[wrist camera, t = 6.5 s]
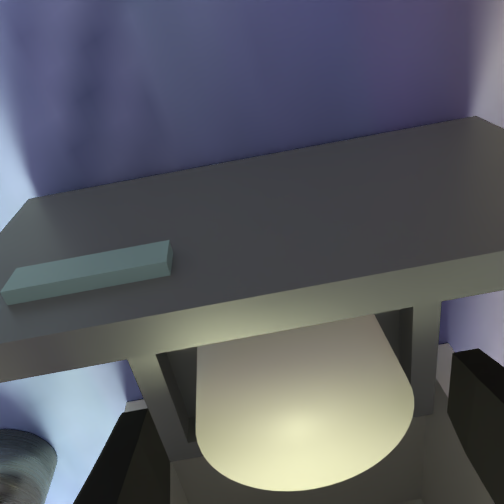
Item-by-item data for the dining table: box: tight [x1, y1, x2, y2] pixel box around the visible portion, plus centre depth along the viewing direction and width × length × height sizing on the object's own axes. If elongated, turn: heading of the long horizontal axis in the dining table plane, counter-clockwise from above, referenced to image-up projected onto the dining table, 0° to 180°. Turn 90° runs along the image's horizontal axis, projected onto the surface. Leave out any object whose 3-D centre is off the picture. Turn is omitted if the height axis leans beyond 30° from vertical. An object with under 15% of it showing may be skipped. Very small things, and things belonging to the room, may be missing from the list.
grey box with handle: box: [0, 116, 504, 462], centre depth 12 cm, size 13×10×7 cm
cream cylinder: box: [196, 314, 414, 491], centre depth 12 cm, size 5×5×4 cm
